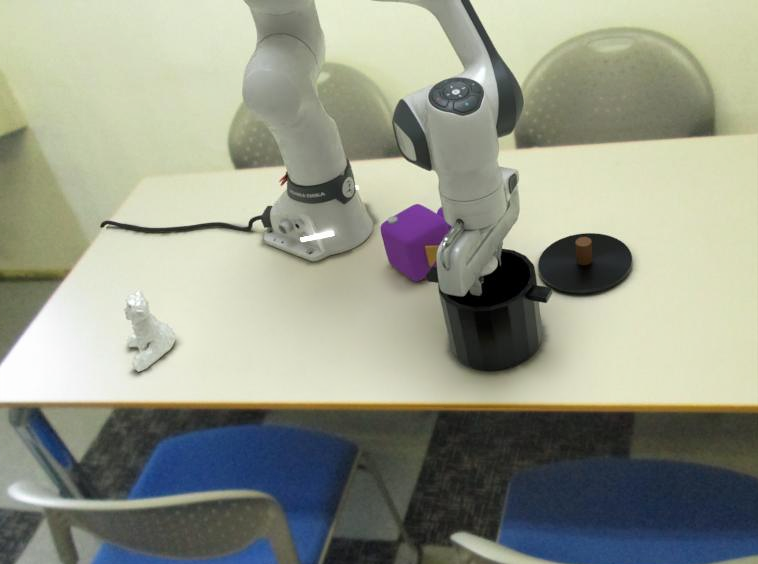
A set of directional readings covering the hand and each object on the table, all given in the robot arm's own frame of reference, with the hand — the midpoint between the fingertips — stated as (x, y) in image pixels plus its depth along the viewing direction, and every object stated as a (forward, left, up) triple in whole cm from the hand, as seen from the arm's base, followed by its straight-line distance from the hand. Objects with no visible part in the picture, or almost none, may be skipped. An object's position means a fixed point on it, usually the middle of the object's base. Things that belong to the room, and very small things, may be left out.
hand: (486, 280), depth 120 cm
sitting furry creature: (-58, -20, -12) cm, 63 cm away
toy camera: (-21, +16, -12) cm, 29 cm away
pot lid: (+7, +21, -11) cm, 25 cm away
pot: (0, 0, -12) cm, 12 cm away
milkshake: (0, +1, -5) cm, 5 cm away
